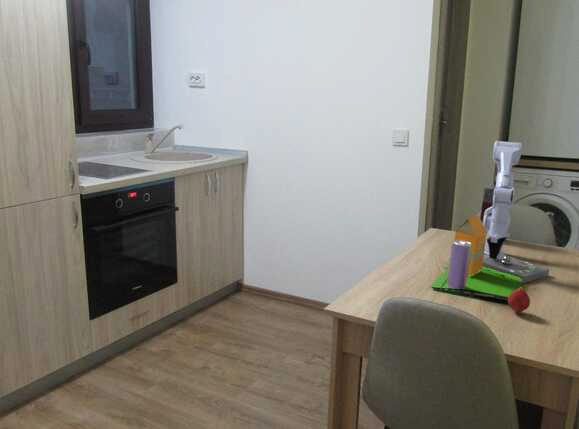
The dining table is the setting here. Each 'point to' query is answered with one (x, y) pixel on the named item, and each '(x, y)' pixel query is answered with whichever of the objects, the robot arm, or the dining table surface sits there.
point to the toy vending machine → (487, 198)
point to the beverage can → (459, 264)
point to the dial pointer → (509, 261)
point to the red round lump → (519, 300)
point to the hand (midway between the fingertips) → (493, 257)
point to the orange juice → (473, 241)
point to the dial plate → (516, 268)
